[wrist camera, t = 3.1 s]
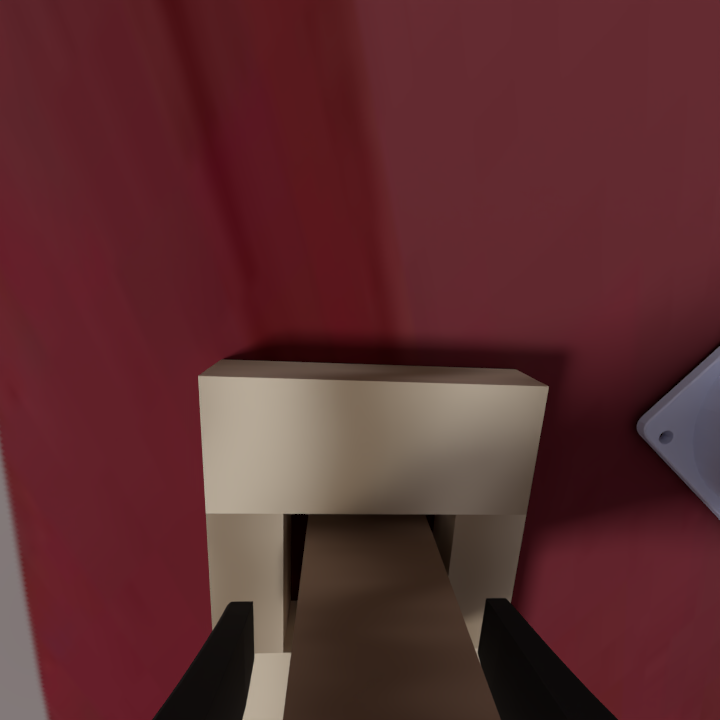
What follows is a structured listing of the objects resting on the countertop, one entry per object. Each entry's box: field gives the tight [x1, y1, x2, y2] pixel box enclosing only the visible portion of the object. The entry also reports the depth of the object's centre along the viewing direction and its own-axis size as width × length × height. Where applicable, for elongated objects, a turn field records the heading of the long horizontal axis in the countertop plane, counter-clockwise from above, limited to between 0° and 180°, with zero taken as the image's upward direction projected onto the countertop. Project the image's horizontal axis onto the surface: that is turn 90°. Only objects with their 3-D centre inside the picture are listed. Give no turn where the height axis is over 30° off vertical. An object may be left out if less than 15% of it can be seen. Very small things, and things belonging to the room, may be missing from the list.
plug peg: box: [283, 514, 501, 720], centre depth 10 cm, size 4×4×8 cm
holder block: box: [198, 359, 549, 720], centre depth 13 cm, size 10×14×2 cm
